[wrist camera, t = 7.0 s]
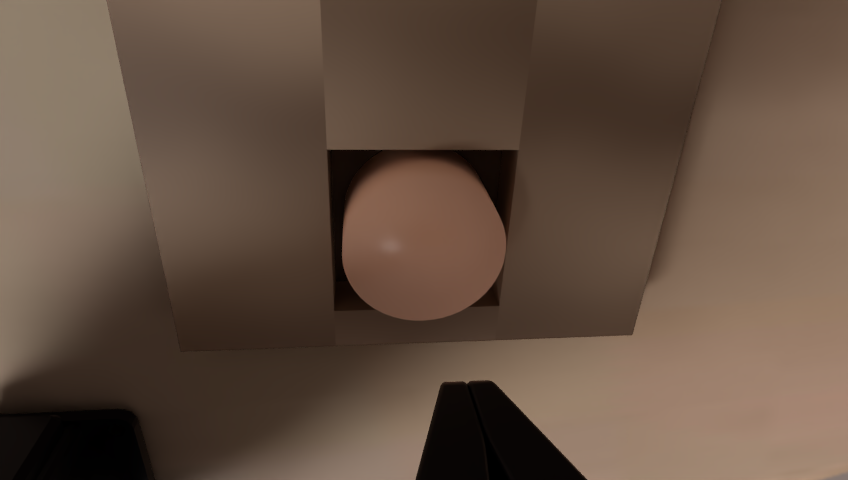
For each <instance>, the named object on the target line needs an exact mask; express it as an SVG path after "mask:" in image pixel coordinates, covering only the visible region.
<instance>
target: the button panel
mask: <svg viewBox="0 0 848 480" xmlns="http://www.w3.org/2000/svg"><path fill="white" fill-rule="evenodd" d="M721 2H722V0H107V5H108V10H109V15H110V19H111V24H112V29H113V33H114V38H115V43H116V48H117V52H118V57H119V62H120V67H121V71H122V76H123V81H124V86H125V90H126V95H127V100H128V104H129V109H130V114H131V119H132V123H133V128H134V133H135V138H136V142H137V147H138V152H139V156H140V161H141V166H142V171H143V175H144V180H145V185H146V190H147V194H148V199H149V204H150V208H151V213H152V218H153V223H154V227H155V232H156V237H157V242H158V246H159V251H160V256H161V261H162V265H163V270H164V275H165V279H166V284H167V289H168V294H169V298H170V303H171V308H172V313H173V317H174V322H175V327H176V331H177V336H178V341H179V346H180V350H181V352H186V351H213V350H241V349H268V348H295V347H322V346H349V345H376V344H403V343H431V342H458V341H485V340H512V339H539V338H566V337H593V336H620V335H632V334H633V330H634V327H635V323H636V319H637V316H638V312H639V308H640V304H641V301H642V297H643V293H644V289H645V286H646V282H647V278H648V275H649V271H650V267H651V263H652V260H653V256H654V252H655V248H656V245H657V241H658V237H659V233H660V230H661V226H662V222H663V219H664V215H665V211H666V207H667V204H668V200H669V196H670V192H671V189H672V185H673V181H674V178H675V174H676V170H677V166H678V163H679V159H680V155H681V151H682V148H683V144H684V140H685V136H686V133H687V129H688V125H689V122H690V118H691V114H692V110H693V107H694V103H695V99H696V95H697V92H698V88H699V84H700V81H701V77H702V73H703V69H704V66H705V62H706V58H707V54H708V51H709V47H710V43H711V39H712V36H713V32H714V28H715V25H716V21H717V17H718V13H719V10H720V6H721ZM330 150H502V158H501V168H500V177H499V186H498V195H497V204H496V210H497V212H498V214H499V216H500V219H501V221H502V223H503V226H504V230H505V235H506V254H505V259H504V263H503V266H502V268H501V271H500V273H499V275H498V277H497V279H496V280H495V282H494V283H493V285H492V286H491V287H490V289H489V290H488V291H487V292H486V293H485V294H484V295H483V296H482V297H481V298H480V299H479V300H477V301H476V302H475V303H473V304H472V305H470V306H469V307H467V308H465V309H464V310H462V311H460V312H457V313H455V314H453V315H450V316H447V317H443V318H439V319H434V320H424V321H414V320H405V319H400V318H395V317H392V316H389V315H386V314H384V313H382V312H380V311H378V310H376V309H374V308H373V307H371V306H370V305H368V304H367V303H366V302H365V301H364V300H363V299H361V298H360V297H359V295H358V294H357V293H356V292H355V291H354V289H353V288H352V286H351V284H350V283H349V281H336V273H335V249H334V225H333V201H332V177H331V153H330Z"/></svg>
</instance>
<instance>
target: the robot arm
mask: <svg viewBox="0 0 848 480" xmlns="http://www.w3.org/2000/svg"><path fill="white" fill-rule="evenodd" d="M116 424H117V425H116ZM118 425H121V426H118ZM0 480H155V478H154V475H153V471H152V467H151V464H150V460H149V457H148V453H147V449H146V446H145V442H144V439H143V435H142V431H141V428H140V424H139V421H138V418H137V417H136V415H134V414H133V413H132V412H130V411H127V410H122V409H112V410H90V411H69V412H48V413H27V414H6V415H0ZM416 480H587V479H586V478H585V477H584V476H583V475H582V474H581V473H580V472H579V471H578V470H577V469H576V468H575V466H574V465H573V464H572V463H571V462H570V461H569V460H568V459H567V458H566V457H565V456H564V455H563V454H562V453H561V452H560V451H559V450H558V449H557V448H556V447H555V446H554V445H553V444H552V442H551V441H550V440H549V439H548V438H547V437H546V436H545V435H544V434H543V433H542V432H541V431H540V430H539V429H538V428H537V427H536V426H535V425H534V424H533V423H532V422H531V421H530V420H529V418H528V417H527V416H526V415H525V414H524V413H523V412H522V411H521V410H520V409H519V408H518V407H517V406H516V405H515V404H514V403H513V402H512V401H511V400H510V399H509V398H508V397H507V396H506V395H505V393H504V392H503V391H502V390H501V389H500V388H499V387H498V386H497V385H496V384H495V383H494V382H492V381H489V380H485V381H470V382H469V383H467V384H466V383H465V382H444V383H442V384H441V386H440V390H439V394H438V397H437V401H436V405H435V409H434V412H433V416H432V420H431V424H430V427H429V431H428V435H427V439H426V442H425V446H424V450H423V454H422V457H421V461H420V465H419V469H418V472H417V476H416Z"/></svg>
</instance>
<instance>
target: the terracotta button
mask: <svg viewBox="0 0 848 480" xmlns="http://www.w3.org/2000/svg"><path fill="white" fill-rule="evenodd" d="M505 254H506V235H505V230H504V226H503V223H502V221H501V219H500V216H499V214H498V212H497V210H496V208H495V206H494V204H493V203H492V201H491V199H490V197H489V195H488V193H487V191H486V189H485V187H484V185H483V183H482V181H481V179H480V177H479V176H478V174H477V172H476V171H475V169H474V168H473V167H472V166H471V165H470V163H469V162H467V161H466V160H465V159H464V158H463V157H462V156H460V155H459V154H457V153H456V152H454V151H452V150H384V151H382V152H380V153H378V154H377V155H375V156H373V157H372V158H371V159H369V160H368V161H367V162H366V163H365V164H364V165H363V166H362V167H361V168H360V169H359V170H358V172H357V173H356V174H355V176H354V177H353V179H352V181H351V183H350V185H349V187H348V190H347V193H346V196H345V202H344V219H343V242H342V260H343V267H344V270H345V274H346V276H347V278H348V281H349V283H350V284H351V286H352V288H353V289H354V291H355V292H356V293H357V294H358V295H359V297H360V298H361V299H363V300H364V301H365V302H366V303H367V304H368V305H370V306H371V307H373V308H374V309H376V310H378V311H380V312H382V313H384V314H386V315H389V316H392V317H395V318H400V319H405V320H414V321H424V320H434V319H439V318H443V317H447V316H450V315H453V314H455V313H457V312H460V311H462V310H464V309H465V308H467V307H469V306H470V305H472V304H473V303H475V302H476V301H477V300H479V299H480V298H481V297H482V296H483V295H484V294H485V293H486V292H487V291H488V290H489V289H490V287H491V286H492V285H493V283H494V282H495V280H496V279H497V277H498V275H499V273H500V271H501V268H502V266H503V263H504V259H505Z"/></svg>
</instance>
